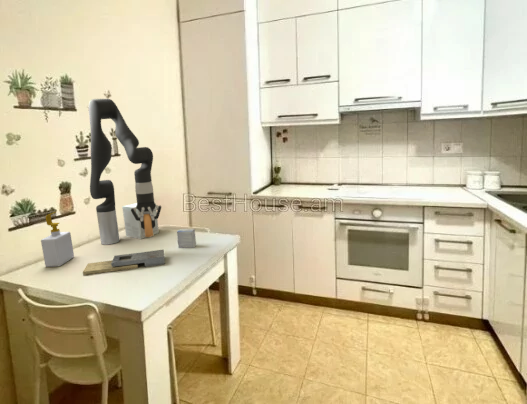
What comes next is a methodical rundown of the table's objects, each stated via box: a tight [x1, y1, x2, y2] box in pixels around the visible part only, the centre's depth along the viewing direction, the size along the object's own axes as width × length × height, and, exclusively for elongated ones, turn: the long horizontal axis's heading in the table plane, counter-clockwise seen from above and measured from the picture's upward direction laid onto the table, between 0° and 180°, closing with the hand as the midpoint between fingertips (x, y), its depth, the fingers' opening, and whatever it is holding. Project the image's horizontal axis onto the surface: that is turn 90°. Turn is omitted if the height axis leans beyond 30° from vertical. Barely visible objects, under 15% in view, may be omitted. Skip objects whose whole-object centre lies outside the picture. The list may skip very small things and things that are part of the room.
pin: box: [143, 211, 154, 238], centre depth 160 cm, size 5×5×12 cm
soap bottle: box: [40, 211, 75, 268], centre depth 156 cm, size 12×7×23 cm, turn 179°
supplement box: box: [121, 202, 160, 240], centre depth 195 cm, size 13×13×18 cm
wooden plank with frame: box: [82, 249, 166, 276], centre depth 149 cm, size 32×10×4 cm, turn 106°
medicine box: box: [176, 228, 197, 249], centre depth 171 cm, size 8×4×9 cm, turn 84°
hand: (148, 228), depth 160 cm, fingers closed on pin, 3 cm apart
